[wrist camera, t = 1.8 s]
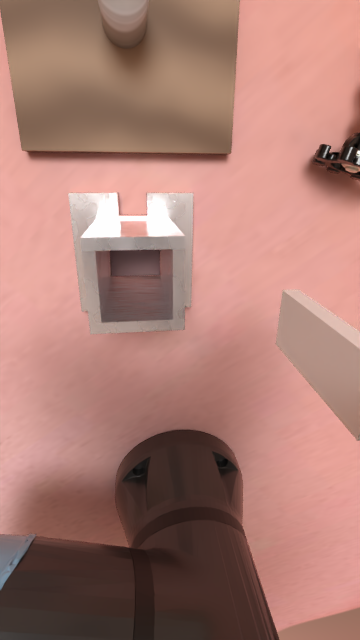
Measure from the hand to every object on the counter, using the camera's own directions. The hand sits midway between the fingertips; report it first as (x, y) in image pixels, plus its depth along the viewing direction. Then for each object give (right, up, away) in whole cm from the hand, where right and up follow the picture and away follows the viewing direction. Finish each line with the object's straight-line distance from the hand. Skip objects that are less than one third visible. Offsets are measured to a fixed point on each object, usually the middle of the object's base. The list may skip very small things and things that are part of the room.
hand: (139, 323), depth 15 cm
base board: (-2, +21, +10) cm, 23 cm away
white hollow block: (-2, +6, +16) cm, 17 cm away
